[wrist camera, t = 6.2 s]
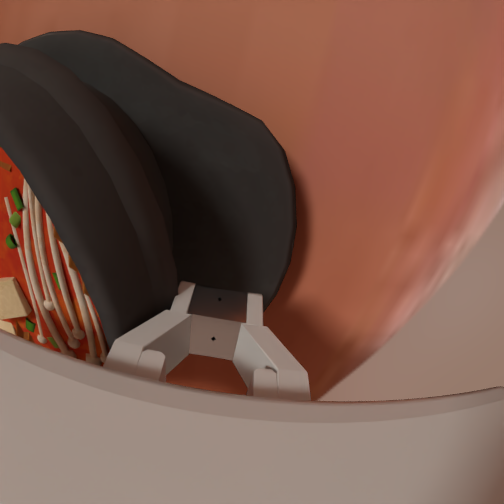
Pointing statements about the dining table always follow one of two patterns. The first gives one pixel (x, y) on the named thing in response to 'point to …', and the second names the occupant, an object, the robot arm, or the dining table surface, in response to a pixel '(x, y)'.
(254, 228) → the casserole
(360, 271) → the dining table surface
